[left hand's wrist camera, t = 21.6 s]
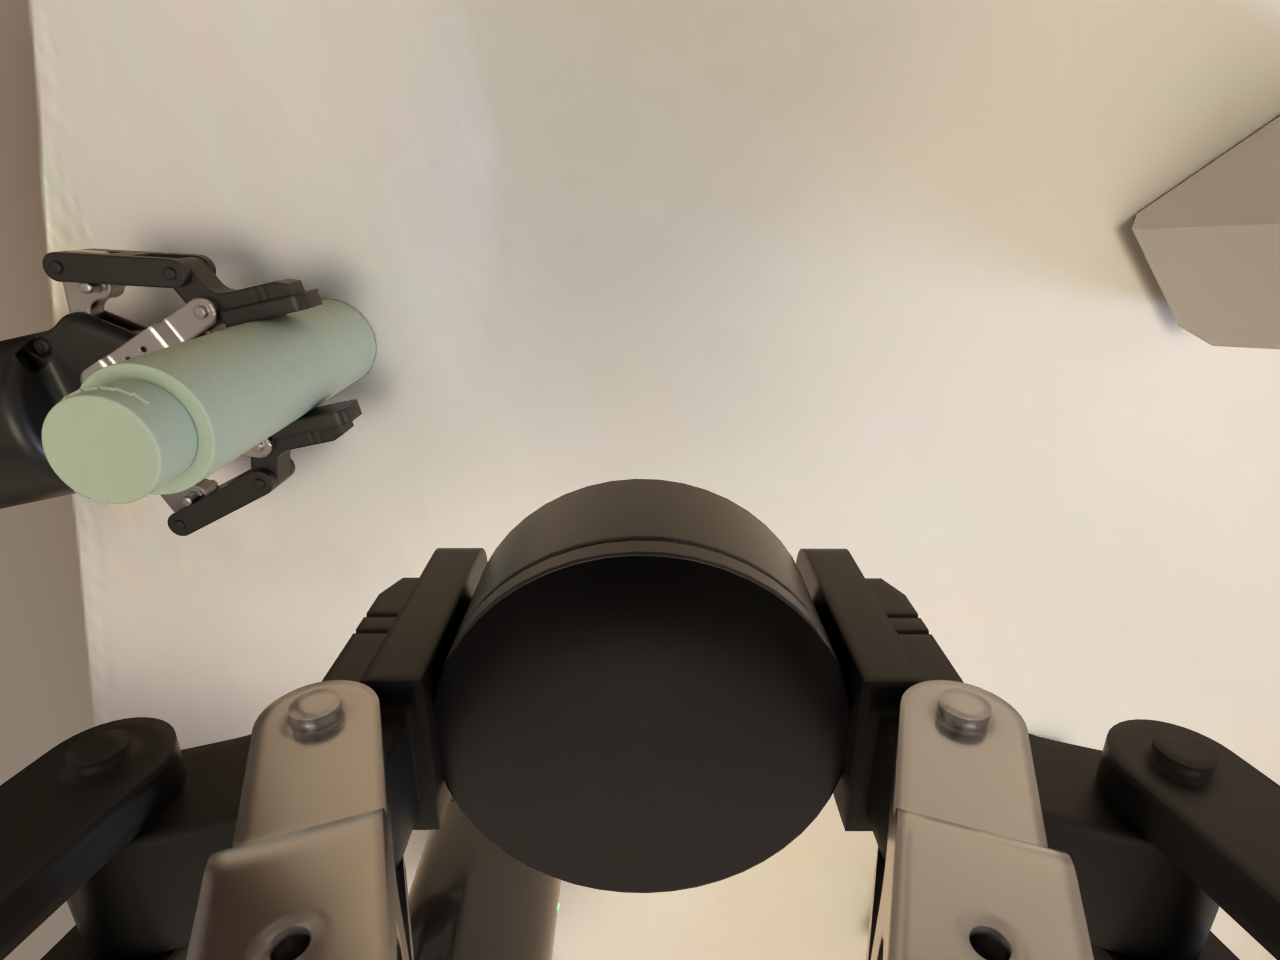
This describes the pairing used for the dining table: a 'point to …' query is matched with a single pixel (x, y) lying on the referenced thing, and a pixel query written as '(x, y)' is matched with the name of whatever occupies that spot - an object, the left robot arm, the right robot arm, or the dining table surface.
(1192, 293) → the electronic device
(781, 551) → the lid
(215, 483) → the right robot arm
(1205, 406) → the dining table surface
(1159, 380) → the dining table surface
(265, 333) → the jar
